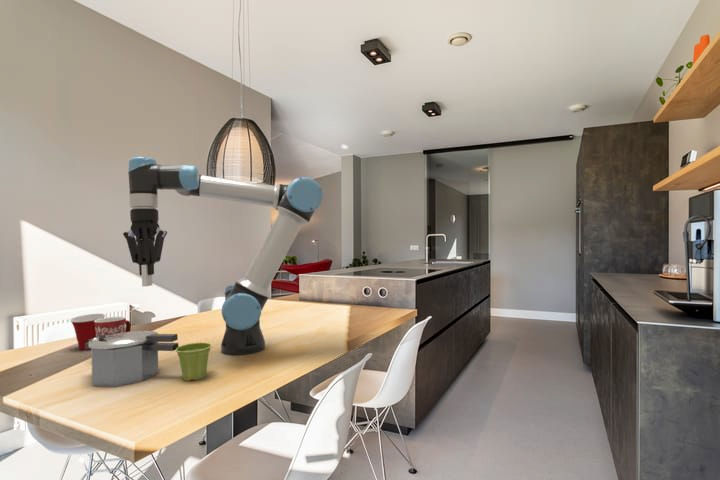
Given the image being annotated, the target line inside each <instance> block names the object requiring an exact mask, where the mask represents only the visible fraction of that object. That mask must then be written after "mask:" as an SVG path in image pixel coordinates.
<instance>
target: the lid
mask: <svg viewBox="0 0 720 480" xmlns="http://www.w3.org/2000/svg"><path fill="white" fill-rule="evenodd" d="M178 339H179V338H178V333H158V332H157V331H156V330H155V331H154V330H153V331H152V330H136V331H135V330H134V331H130V332H123V333H117V334H111V335H107V334H106V335H105V334H100V335H99V337H96V338H93V339H89V340H88V344H89V348H92V349H115V348H123V347H130V346H135V345H140V344H144V343H147V342H158V343H174V342H175V341H178Z"/></svg>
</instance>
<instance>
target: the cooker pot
mask: <svg viewBox="0 0 720 480" xmlns="http://www.w3.org/2000/svg"><path fill="white" fill-rule="evenodd" d="M178 347H179V342H147V343H144V344H140V345H135V346H130V347H123V348H115V349H92V348H89V344H88V343H85V349H90V353H91V383H92V387H108V388H110V387H111V388H115V387H116V388H117V387H122V386H126V385H131V384H135V383H141V382H144V381H146V380H148V379H150V378H152V377H154V376H155V375H158V374H159V352H160V351H162V352H163V351H164V352H175V351H176V348H178Z"/></svg>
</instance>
